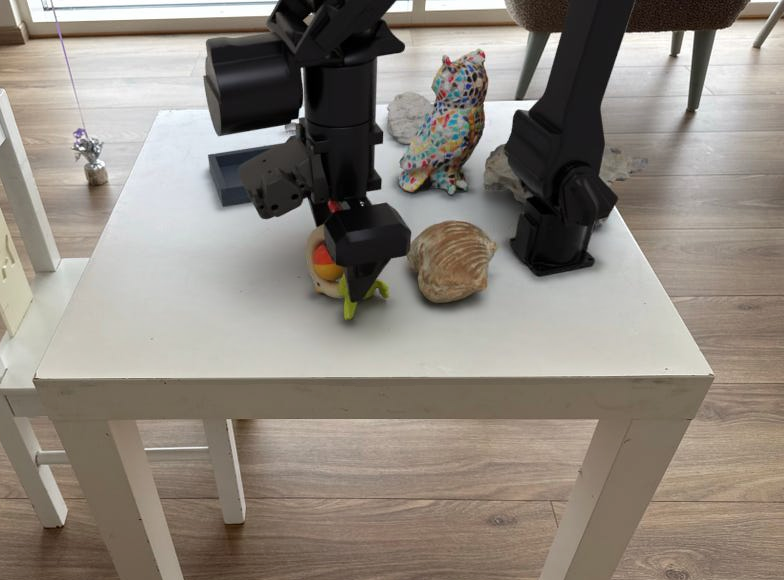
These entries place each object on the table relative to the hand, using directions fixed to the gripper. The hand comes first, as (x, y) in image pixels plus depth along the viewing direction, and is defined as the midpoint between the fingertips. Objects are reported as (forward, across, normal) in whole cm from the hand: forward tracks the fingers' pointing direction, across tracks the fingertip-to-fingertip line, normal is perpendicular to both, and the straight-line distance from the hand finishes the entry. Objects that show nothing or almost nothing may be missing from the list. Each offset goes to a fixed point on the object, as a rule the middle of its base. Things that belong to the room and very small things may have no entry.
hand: (341, 272), depth 69 cm
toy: (+3, -36, +7) cm, 37 cm away
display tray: (+3, -26, -2) cm, 26 cm away
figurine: (+3, -19, +18) cm, 27 cm away
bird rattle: (+4, 0, 0) cm, 4 cm away
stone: (+4, -33, +21) cm, 39 cm away
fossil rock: (+1, -17, +31) cm, 35 cm away
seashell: (+4, +1, +11) cm, 12 cm away
